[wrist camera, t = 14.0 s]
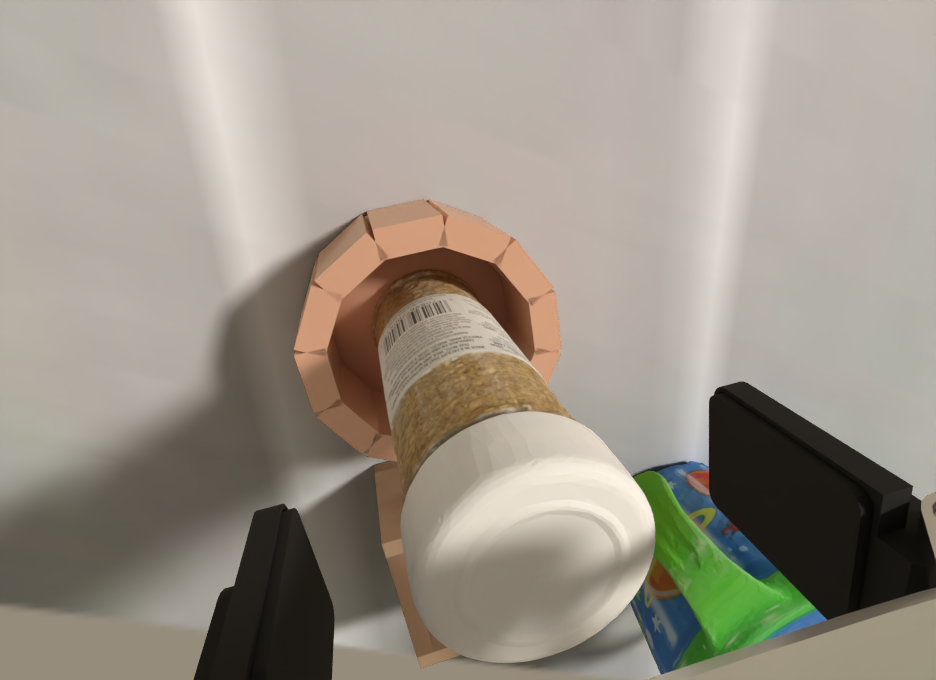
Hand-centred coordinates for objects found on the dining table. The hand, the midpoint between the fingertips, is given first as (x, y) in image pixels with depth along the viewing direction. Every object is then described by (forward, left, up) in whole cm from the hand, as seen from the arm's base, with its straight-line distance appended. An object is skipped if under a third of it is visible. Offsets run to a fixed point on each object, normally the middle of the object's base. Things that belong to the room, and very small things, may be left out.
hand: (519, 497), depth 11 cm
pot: (+1, 0, -12) cm, 12 cm away
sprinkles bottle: (0, 0, -11) cm, 11 cm away
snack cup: (-10, +14, -12) cm, 21 cm away
